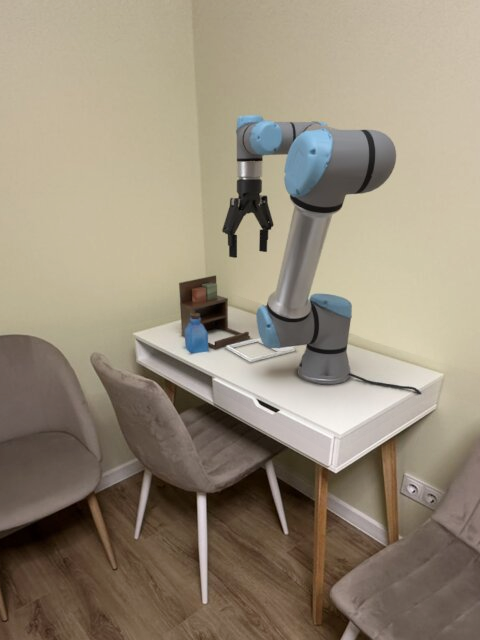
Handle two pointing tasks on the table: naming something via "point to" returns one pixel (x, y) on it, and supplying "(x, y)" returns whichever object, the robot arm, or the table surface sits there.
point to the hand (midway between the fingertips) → (248, 254)
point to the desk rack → (207, 309)
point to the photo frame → (279, 352)
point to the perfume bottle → (196, 335)
